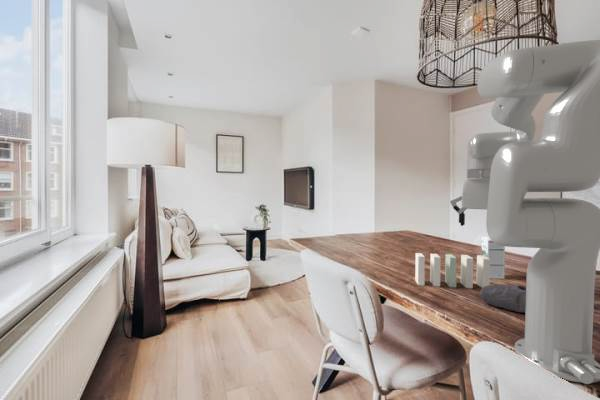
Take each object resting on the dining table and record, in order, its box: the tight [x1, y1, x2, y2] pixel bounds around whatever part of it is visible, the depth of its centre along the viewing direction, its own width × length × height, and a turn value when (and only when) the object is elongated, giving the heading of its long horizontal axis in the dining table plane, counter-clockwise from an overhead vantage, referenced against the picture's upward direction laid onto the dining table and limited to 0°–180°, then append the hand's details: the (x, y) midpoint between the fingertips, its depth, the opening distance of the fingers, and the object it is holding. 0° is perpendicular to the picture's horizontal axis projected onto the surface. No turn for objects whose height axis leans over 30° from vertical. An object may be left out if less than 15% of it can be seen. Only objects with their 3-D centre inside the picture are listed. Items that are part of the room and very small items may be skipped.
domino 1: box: [414, 252, 426, 286], centre depth 98 cm, size 5×2×10 cm, turn 169°
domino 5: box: [475, 254, 491, 288], centre depth 94 cm, size 5×2×10 cm, turn 169°
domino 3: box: [444, 253, 458, 288], centre depth 96 cm, size 5×2×10 cm, turn 168°
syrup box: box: [481, 236, 506, 280], centre depth 104 cm, size 6×6×14 cm
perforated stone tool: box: [479, 283, 526, 313], centre depth 77 cm, size 15×5×7 cm, turn 51°
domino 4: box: [460, 254, 474, 289], centre depth 95 cm, size 5×2×10 cm, turn 169°
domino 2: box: [429, 253, 442, 287], centre depth 97 cm, size 5×2×10 cm, turn 169°
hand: (478, 226), depth 94 cm, fingers open, 9 cm apart
